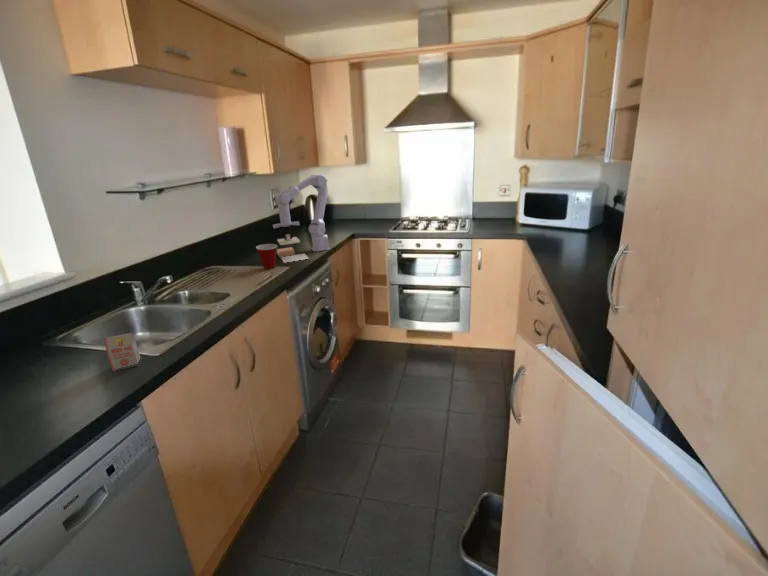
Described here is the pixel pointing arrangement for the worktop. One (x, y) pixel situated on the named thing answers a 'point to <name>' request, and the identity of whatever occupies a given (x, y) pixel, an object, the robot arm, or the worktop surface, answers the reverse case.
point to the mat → (294, 258)
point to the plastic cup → (267, 255)
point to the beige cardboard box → (122, 351)
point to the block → (285, 252)
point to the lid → (288, 240)
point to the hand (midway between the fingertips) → (288, 239)
